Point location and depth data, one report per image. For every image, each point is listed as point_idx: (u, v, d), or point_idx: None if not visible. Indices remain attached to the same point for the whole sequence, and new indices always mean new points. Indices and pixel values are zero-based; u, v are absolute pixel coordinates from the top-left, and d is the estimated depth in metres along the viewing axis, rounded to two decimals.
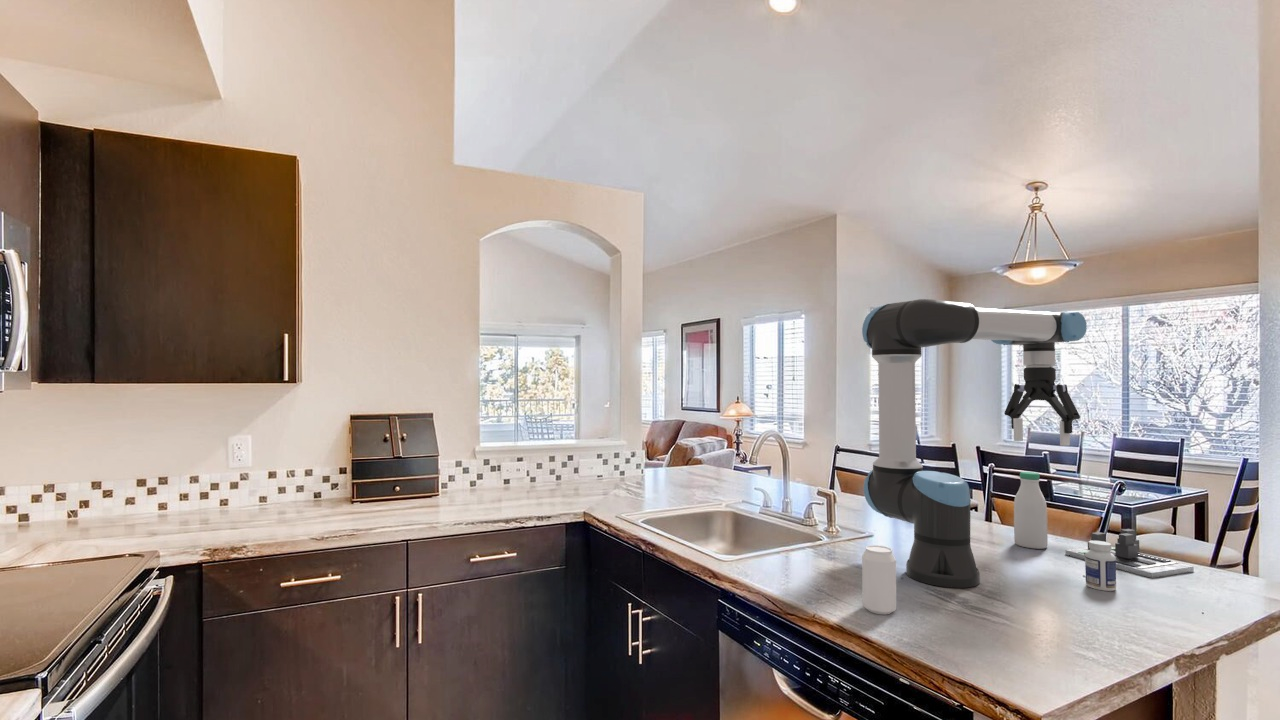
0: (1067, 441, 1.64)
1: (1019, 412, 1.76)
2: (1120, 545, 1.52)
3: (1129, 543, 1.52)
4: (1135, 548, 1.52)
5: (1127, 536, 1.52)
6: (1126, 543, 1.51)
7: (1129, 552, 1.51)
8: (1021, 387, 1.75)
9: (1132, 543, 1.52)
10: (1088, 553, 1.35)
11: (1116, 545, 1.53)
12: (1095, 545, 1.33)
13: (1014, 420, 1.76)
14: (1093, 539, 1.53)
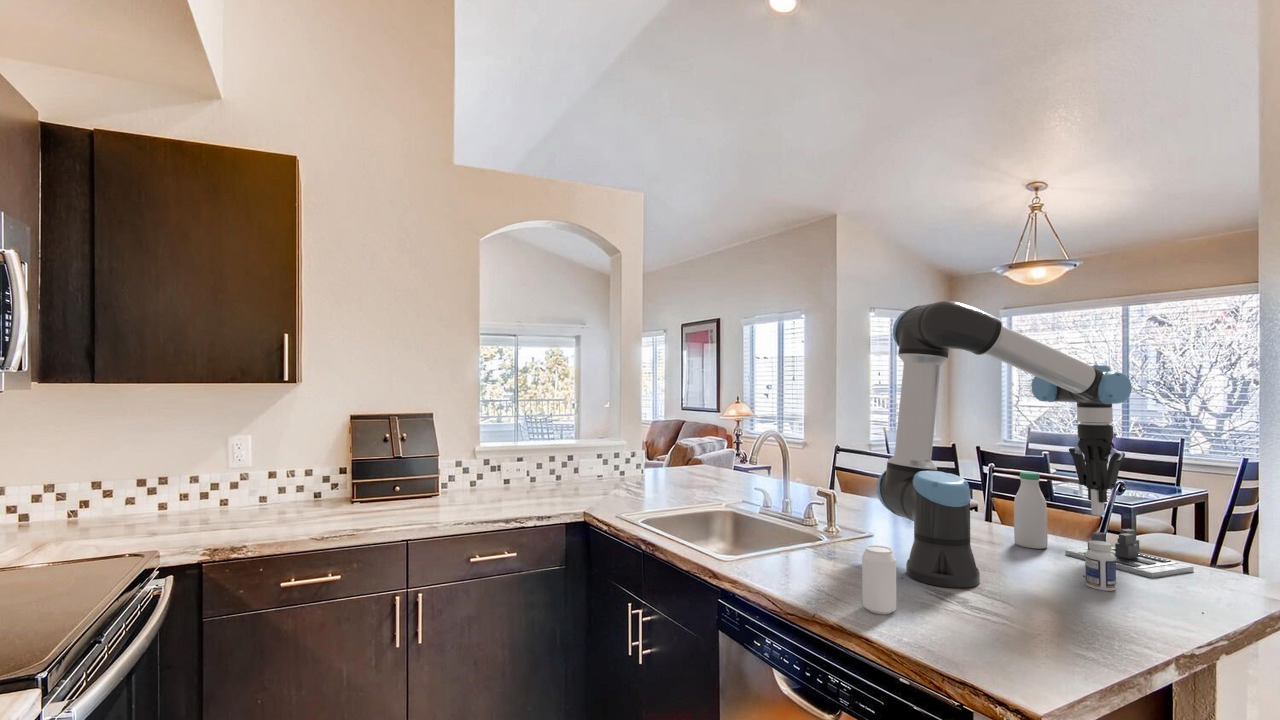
0: (1102, 510, 1.59)
1: (1093, 479, 1.60)
2: (1120, 545, 1.52)
3: (1129, 543, 1.52)
4: (1135, 548, 1.52)
5: (1127, 536, 1.52)
6: (1126, 543, 1.51)
7: (1129, 552, 1.51)
8: (1076, 449, 1.64)
9: (1132, 543, 1.52)
10: (1088, 553, 1.35)
11: (1116, 545, 1.53)
12: (1095, 545, 1.33)
13: (1092, 491, 1.60)
14: (1093, 539, 1.53)
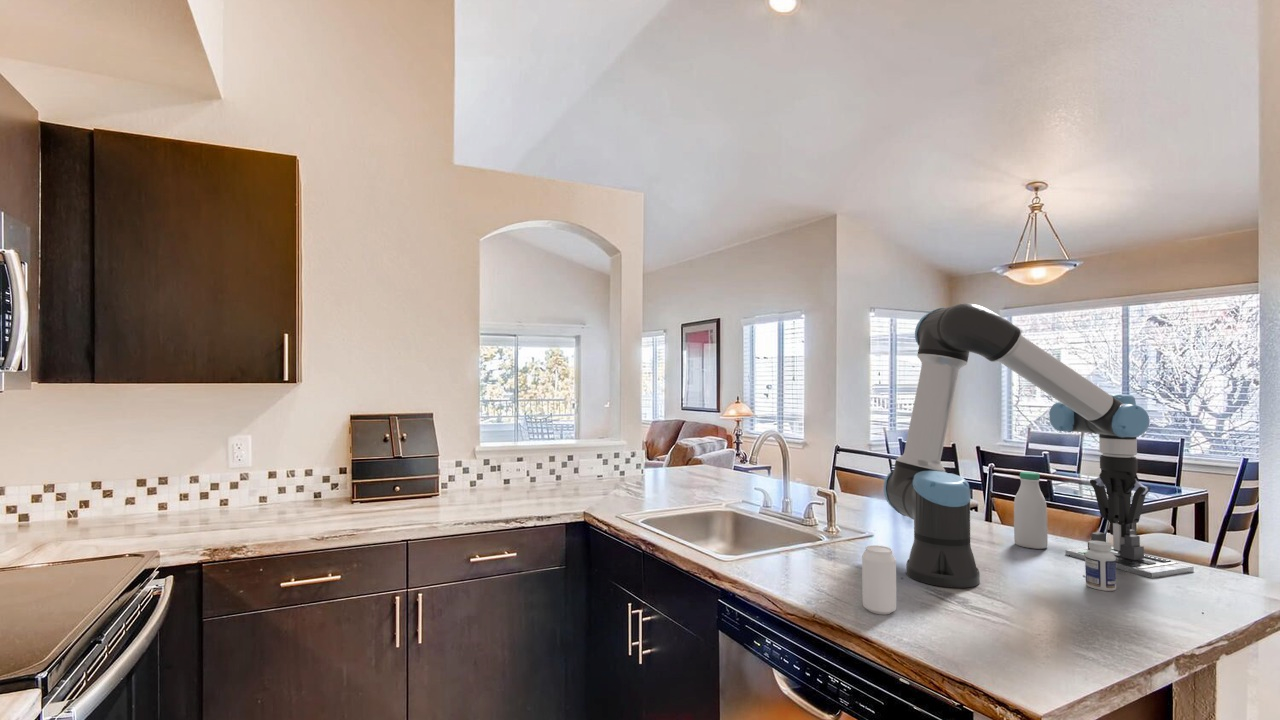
0: None
1: (1115, 512, 1.55)
2: (1126, 546, 1.51)
3: (1135, 544, 1.51)
4: (1141, 549, 1.50)
5: (1133, 537, 1.50)
6: (1132, 544, 1.50)
7: (1135, 554, 1.49)
8: (1098, 480, 1.59)
9: (1138, 544, 1.51)
10: (1088, 553, 1.35)
11: (1122, 546, 1.52)
12: (1095, 545, 1.33)
13: (1114, 525, 1.54)
14: (1093, 539, 1.53)
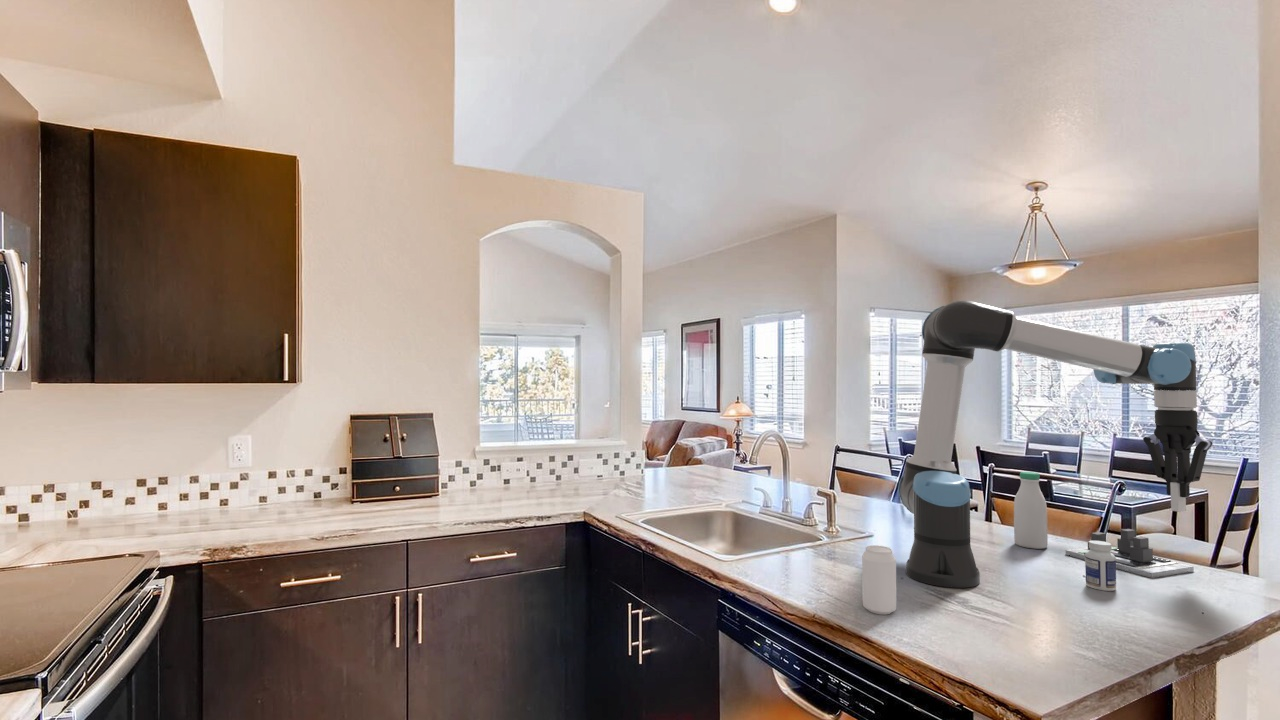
0: (1183, 506, 1.42)
1: (1173, 471, 1.43)
2: (1135, 548, 1.49)
3: (1144, 546, 1.49)
4: (1150, 551, 1.48)
5: (1142, 539, 1.49)
6: (1141, 546, 1.48)
7: (1144, 556, 1.48)
8: (1152, 437, 1.47)
9: (1147, 546, 1.49)
10: (1088, 553, 1.35)
11: (1130, 548, 1.50)
12: (1095, 545, 1.33)
13: (1172, 485, 1.42)
14: (1093, 539, 1.53)
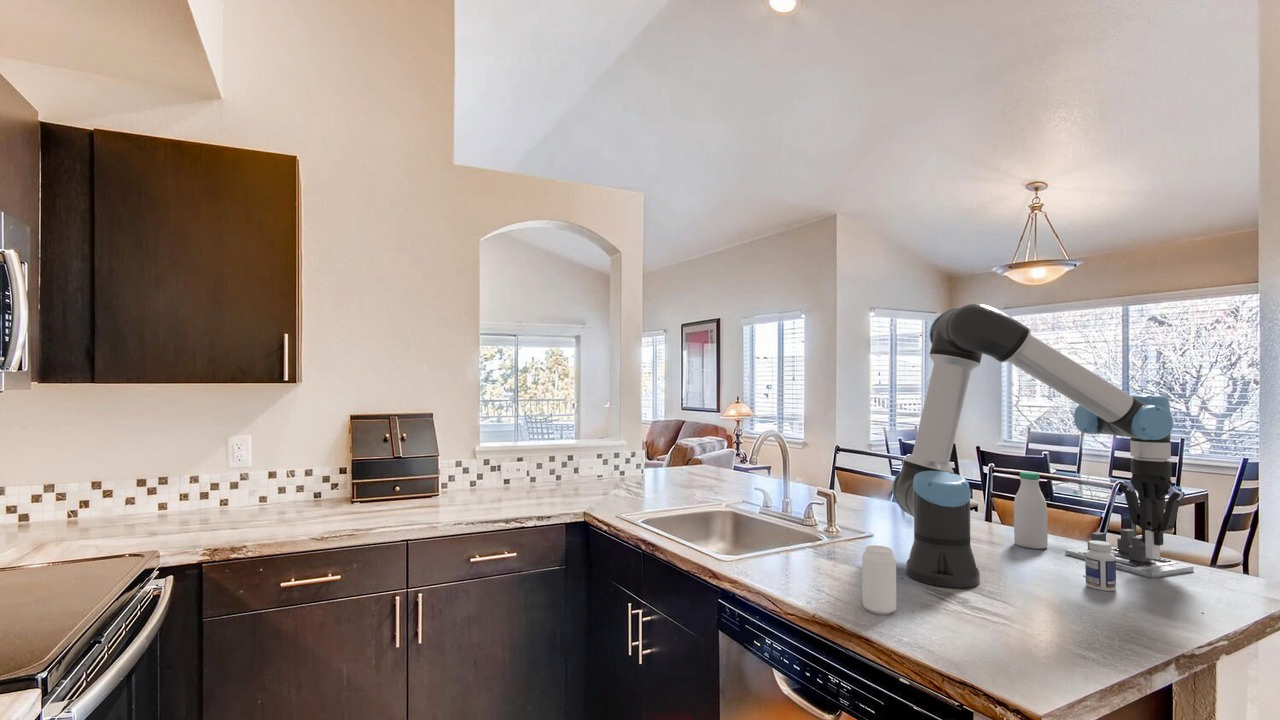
0: (1157, 553, 1.46)
1: (1148, 519, 1.48)
2: (1133, 548, 1.49)
3: (1143, 546, 1.49)
4: None
5: (1141, 539, 1.49)
6: (1140, 546, 1.49)
7: (1143, 556, 1.48)
8: (1129, 485, 1.52)
9: None
10: (1088, 553, 1.35)
11: (1129, 548, 1.50)
12: (1095, 545, 1.33)
13: (1146, 533, 1.47)
14: (1093, 539, 1.53)
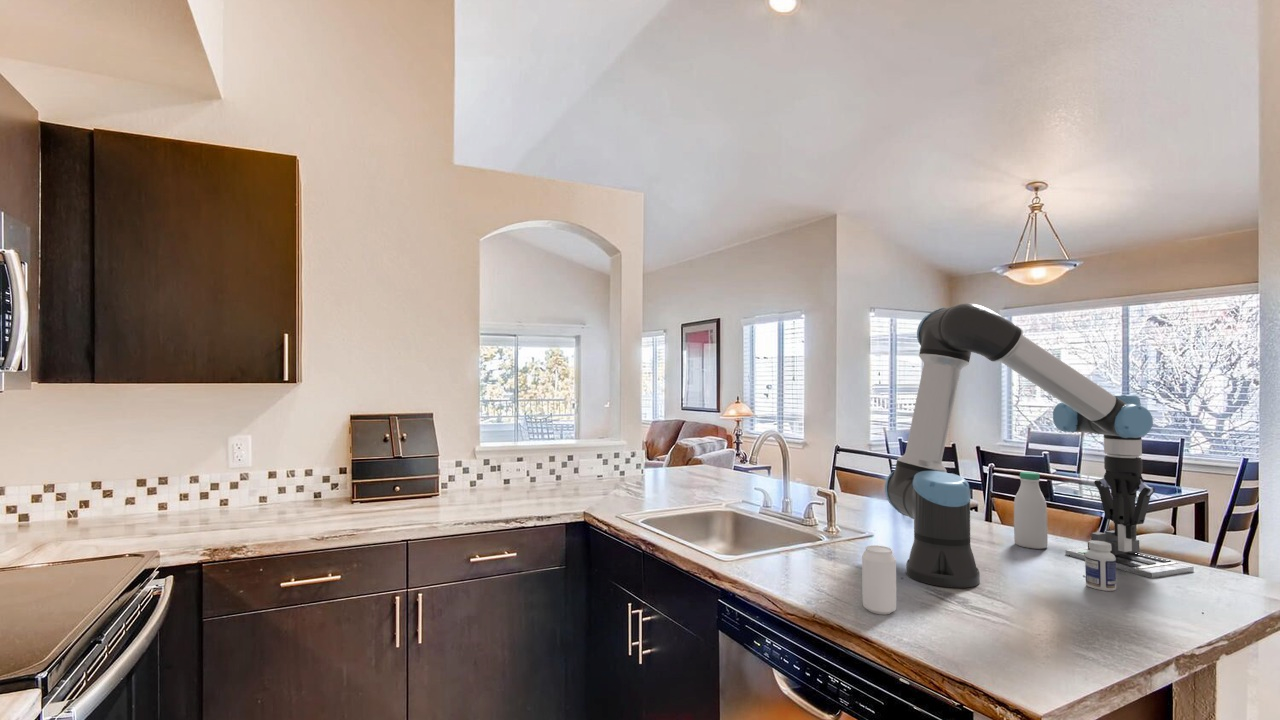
0: (1129, 546, 1.52)
1: (1120, 513, 1.54)
2: (1107, 541, 1.55)
3: (1115, 540, 1.55)
4: None
5: (1113, 533, 1.55)
6: (1112, 540, 1.54)
7: (1115, 549, 1.54)
8: (1102, 481, 1.58)
9: None
10: (1088, 553, 1.35)
11: None
12: (1095, 545, 1.33)
13: (1119, 527, 1.53)
14: (1093, 539, 1.53)
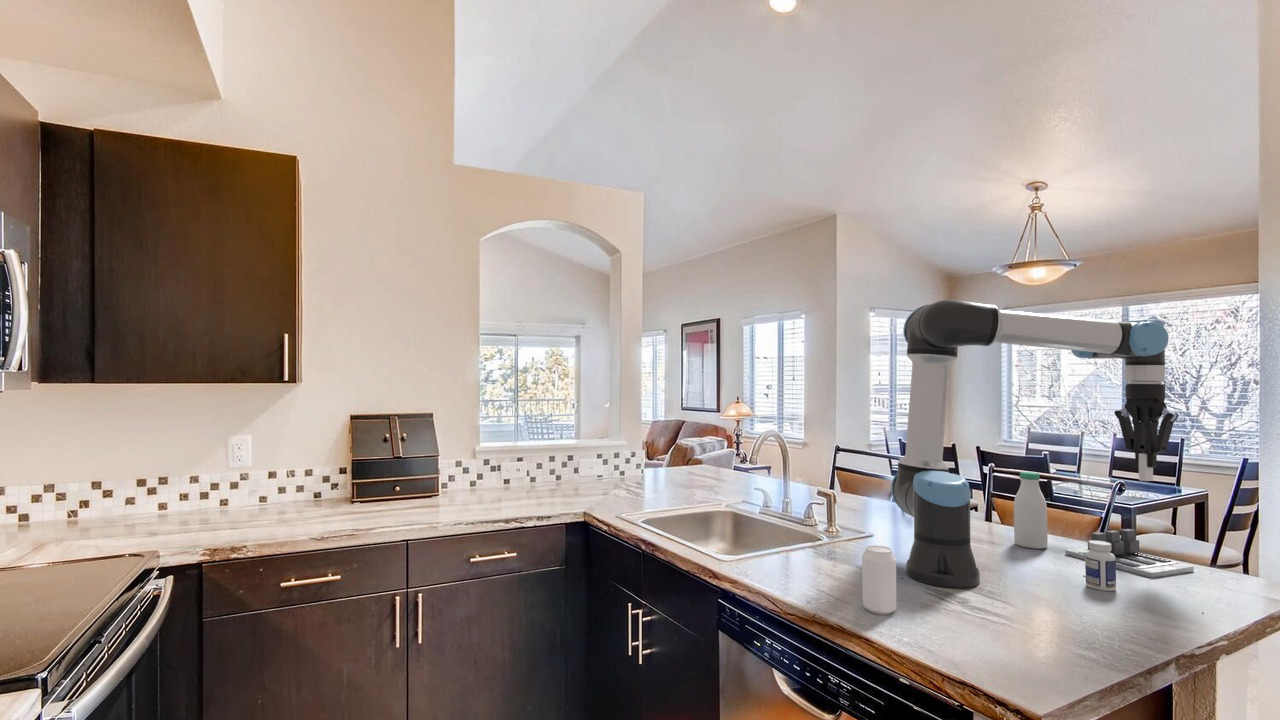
0: (1150, 476, 1.48)
1: (1141, 442, 1.49)
2: (1106, 541, 1.55)
3: (1115, 540, 1.55)
4: (1121, 544, 1.55)
5: (1113, 533, 1.55)
6: (1112, 540, 1.55)
7: (1115, 549, 1.54)
8: (1123, 411, 1.53)
9: (1118, 540, 1.55)
10: (1088, 553, 1.35)
11: None
12: (1095, 545, 1.33)
13: (1140, 456, 1.49)
14: (1093, 539, 1.53)
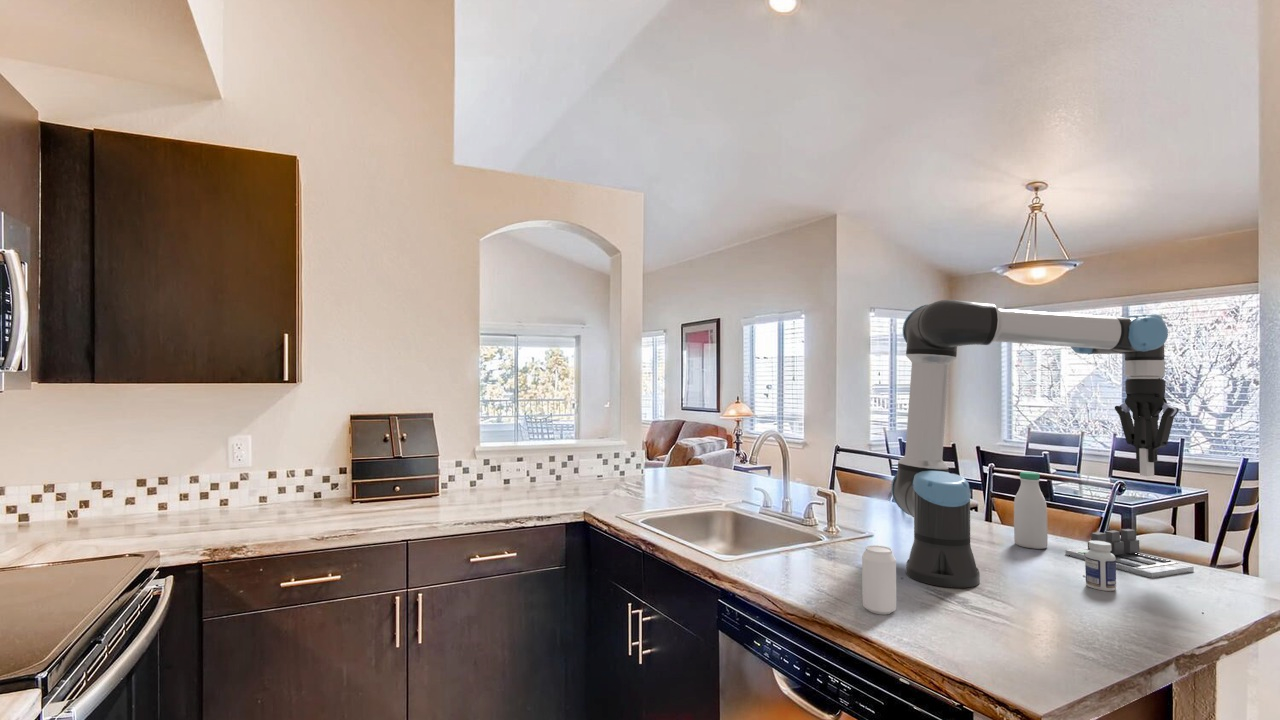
0: (1151, 471, 1.48)
1: (1142, 437, 1.49)
2: (1106, 541, 1.55)
3: (1115, 540, 1.55)
4: (1121, 544, 1.55)
5: (1113, 533, 1.55)
6: (1112, 540, 1.55)
7: (1115, 549, 1.54)
8: (1123, 406, 1.53)
9: (1118, 540, 1.55)
10: (1088, 553, 1.35)
11: None
12: (1095, 545, 1.33)
13: (1141, 451, 1.49)
14: (1093, 539, 1.53)
